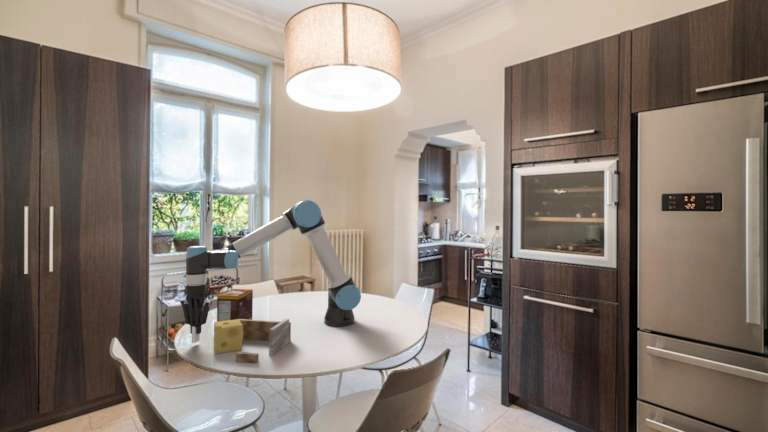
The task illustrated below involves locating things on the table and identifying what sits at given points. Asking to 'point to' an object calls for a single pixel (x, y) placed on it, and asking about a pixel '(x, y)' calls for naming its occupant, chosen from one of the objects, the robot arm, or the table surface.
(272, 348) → the shelf
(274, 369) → the table surface
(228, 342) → the cheese
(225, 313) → the supplement box
